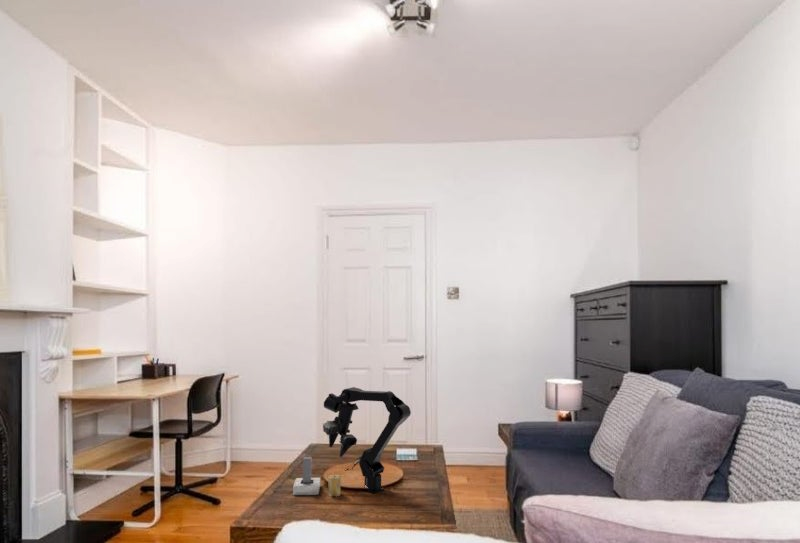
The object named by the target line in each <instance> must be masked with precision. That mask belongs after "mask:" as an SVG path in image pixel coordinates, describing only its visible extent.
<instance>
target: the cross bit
mask: <svg viewBox="0 0 800 543" xmlns="http://www.w3.org/2000/svg"><path fill="white" fill-rule="evenodd" d="M327 482H328V487H327V488H328V490H327V493H328V494H327V495H328V497H330V498H331V497H337V496H338V497H340V496H341V475H340V474H336V475H333V474H330V475H328V480H327Z"/></svg>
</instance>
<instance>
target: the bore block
mask: <svg viewBox="0 0 800 543" xmlns="http://www.w3.org/2000/svg"><path fill="white" fill-rule="evenodd" d="M320 489H321V477H311V484H303V477H296V478H295V480H294V483H293V486H292V491H293V492H292V495H293V496H310V495H311V496H312V495H314V496H315V495H319V493H320Z"/></svg>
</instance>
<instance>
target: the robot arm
mask: <svg viewBox="0 0 800 543" xmlns="http://www.w3.org/2000/svg"><path fill="white" fill-rule="evenodd" d="M358 401H359V402H360V401H365V402H367V401H368V402H382V403H383V404H384V406H385V408H386V411H387V412H388V413H389V415H388V420H387V423H386V425H385V426H384V428H383V429H382V431H381V433H380V435H379V436H378V438H377V439H376V441H375V442H374V444H373V445H372V447H370V448H368V449H365V450H364V451H362V455H361V457H360V456H359V457H360V458H359V459H360V461H359V462H358V464H359V468H360V471H361V474H362V476H363V477H364V486H365V485H366V486H367V487H368V488H369V489H368V490H367V491H366V492H369V493H371V494H376V493H377V492H380V491H382V490H384V488H385V487H382V473H384V472H385V466H384V465H383V464H382V463H381V459H382V453H383V451H384V450H385V448H386V446H388V444H389V442H390V440H391V439H392V437H393V436H394V434H395V433H396V431H397V429H398V428H399V427H400V426H401V425H402V424H404V422H406V420H407V419H409V417H410V416H411V414H412V413H411V412H412V411H411V408H410V406H409V405H407V404H406V403H405V402H404V401H403V400H402V399H400V398H399V397H398V396H396V395H395V393H394V392H393V391H390V390H388V391H382V390H379V391H378V390H377V391H376V390H364V389H362V388H358V387H355V386H353V387H348V388H344V389H342V391H341V392H340V394H339V395H338V396H337V395H335V394H334V393H329V394H328V395H327V397H326V398H325V400H324V402H323V408H325V409H326V410H328V411H331V412H333V413H335V414H336V413H338V414H337V416H335V417H334V420H327V421H326V422H324V423H322V431H323V433H325V435H328V444H329V446H328V447H329V448H333V446H334V445H335V442H336V440H337V438H338V436H340V438H339V441H338V442H339V444H340V449H339V454H338V455H339V457H340V458H343V456H344V455H345V454H346V453H347V451H348V450H349V449H350V448H351V447H352V446H355V445H357V442H358V438H356V437H355V435H353V434H352V433H351V434H350V432H351V430H350V429H349V427H350V426H351V425H350V424H353V420H352V417H353V413H354V411H357V410H359V409H360V408H359V406H358V405H357V403H353V402H358ZM381 487H382V488H381Z"/></svg>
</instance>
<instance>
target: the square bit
mask: <svg viewBox="0 0 800 543" xmlns="http://www.w3.org/2000/svg"><path fill="white" fill-rule="evenodd" d="M312 458H313V456H303V458H302V478H303V484H311V478H312V461H313V460H312Z"/></svg>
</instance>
